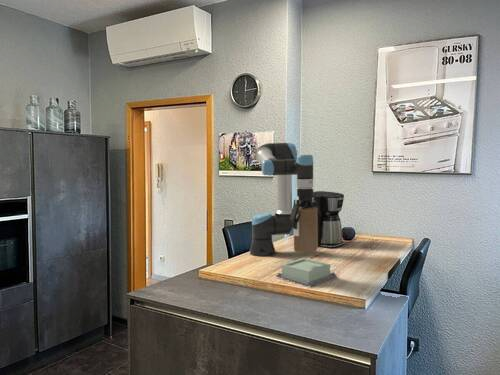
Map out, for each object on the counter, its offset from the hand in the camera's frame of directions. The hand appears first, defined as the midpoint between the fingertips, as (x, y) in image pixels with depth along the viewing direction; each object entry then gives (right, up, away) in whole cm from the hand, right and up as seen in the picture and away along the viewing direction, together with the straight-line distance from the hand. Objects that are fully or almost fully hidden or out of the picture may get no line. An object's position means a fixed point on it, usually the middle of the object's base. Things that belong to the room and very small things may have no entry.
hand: (305, 233), depth 183 cm
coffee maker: (+21, -15, +73) cm, 78 cm away
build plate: (0, -21, +2) cm, 21 cm away
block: (0, -8, +1) cm, 8 cm away
